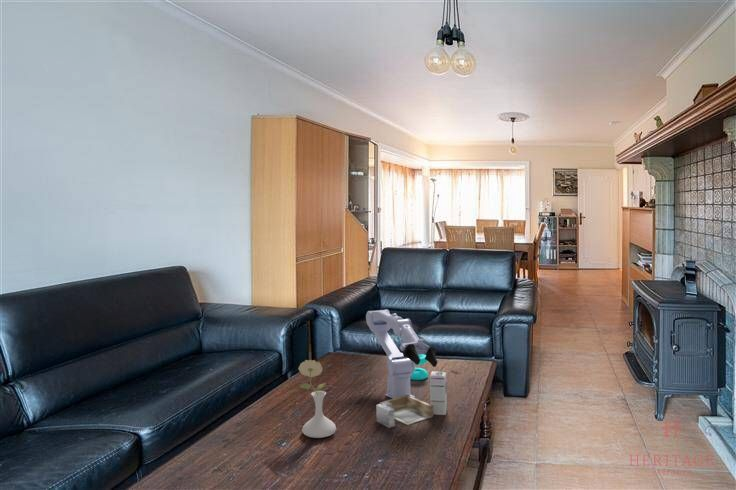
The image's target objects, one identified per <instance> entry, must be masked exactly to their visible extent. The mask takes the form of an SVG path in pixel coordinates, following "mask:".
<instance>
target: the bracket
mask: <svg viewBox="0 0 736 490" xmlns="http://www.w3.org/2000/svg"><path fill="white" fill-rule="evenodd" d="M375 407H376V413H375V414H376V423H379V424H381V425H383V426H385V427H386V428H388V429H390V428H393V427H395V426H396V424H395V421H396V420H395V417H394V409H393V408H392V403H389V402H384V403H381V404H380V403H378V404H376V405H375Z"/></svg>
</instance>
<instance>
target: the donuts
mask: <svg viewBox="0 0 736 490" xmlns="http://www.w3.org/2000/svg"><path fill="white" fill-rule="evenodd" d="M418 356H419V358H420V362H419V364H418V365H417V364H415V363H414V364H415V366H422V365H425V364H426V363H427V362H428V361H427V360H425V357H426V354H421V355H418ZM428 376H429V373H428V370H426V369H425V368H421V367H415V370H414V372H413V373H412V376H410V380H413V381H421V380H425V379H427V378H428Z"/></svg>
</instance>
